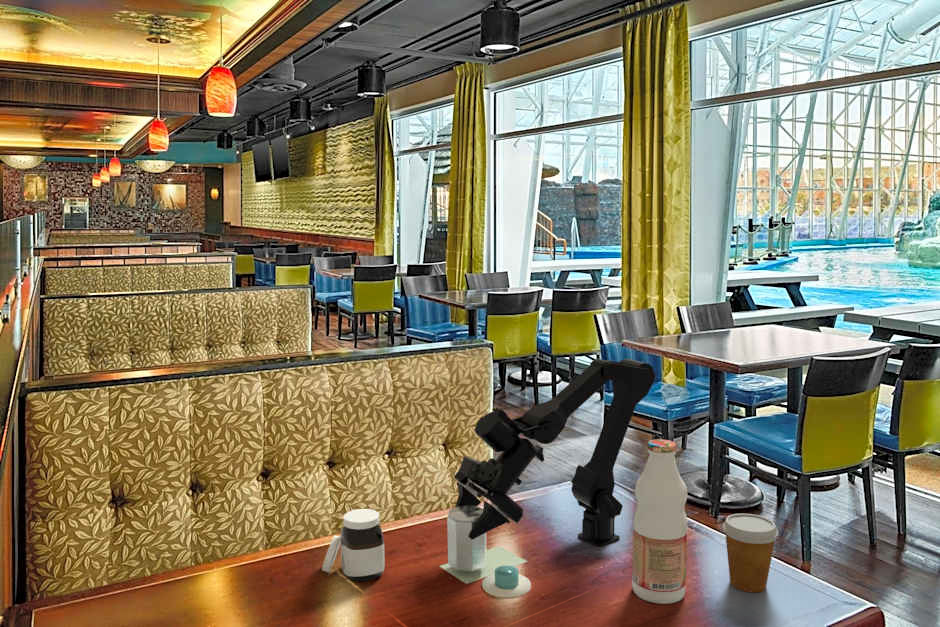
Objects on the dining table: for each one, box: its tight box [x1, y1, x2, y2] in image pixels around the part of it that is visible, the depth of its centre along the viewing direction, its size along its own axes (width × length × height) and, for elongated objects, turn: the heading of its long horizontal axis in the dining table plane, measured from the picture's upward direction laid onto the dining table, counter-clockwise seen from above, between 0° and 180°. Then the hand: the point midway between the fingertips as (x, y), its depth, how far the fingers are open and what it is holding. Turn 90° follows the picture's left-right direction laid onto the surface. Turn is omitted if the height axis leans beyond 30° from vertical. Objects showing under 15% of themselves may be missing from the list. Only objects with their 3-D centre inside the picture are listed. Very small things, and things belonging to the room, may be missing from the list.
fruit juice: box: [631, 438, 688, 605], centre depth 135 cm, size 9×9×28 cm
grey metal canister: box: [446, 505, 488, 571], centre depth 145 cm, size 7×7×11 cm
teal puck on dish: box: [481, 565, 532, 599], centre depth 139 cm, size 9×9×3 cm
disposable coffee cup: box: [722, 513, 779, 593], centre depth 139 cm, size 10×10×12 cm
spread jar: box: [321, 508, 386, 582], centre depth 145 cm, size 12×11×12 cm
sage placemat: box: [439, 545, 529, 585], centre depth 148 cm, size 15×9×1 cm, turn 127°
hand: (460, 530), depth 144 cm, fingers closed on grey metal canister, 7 cm apart
